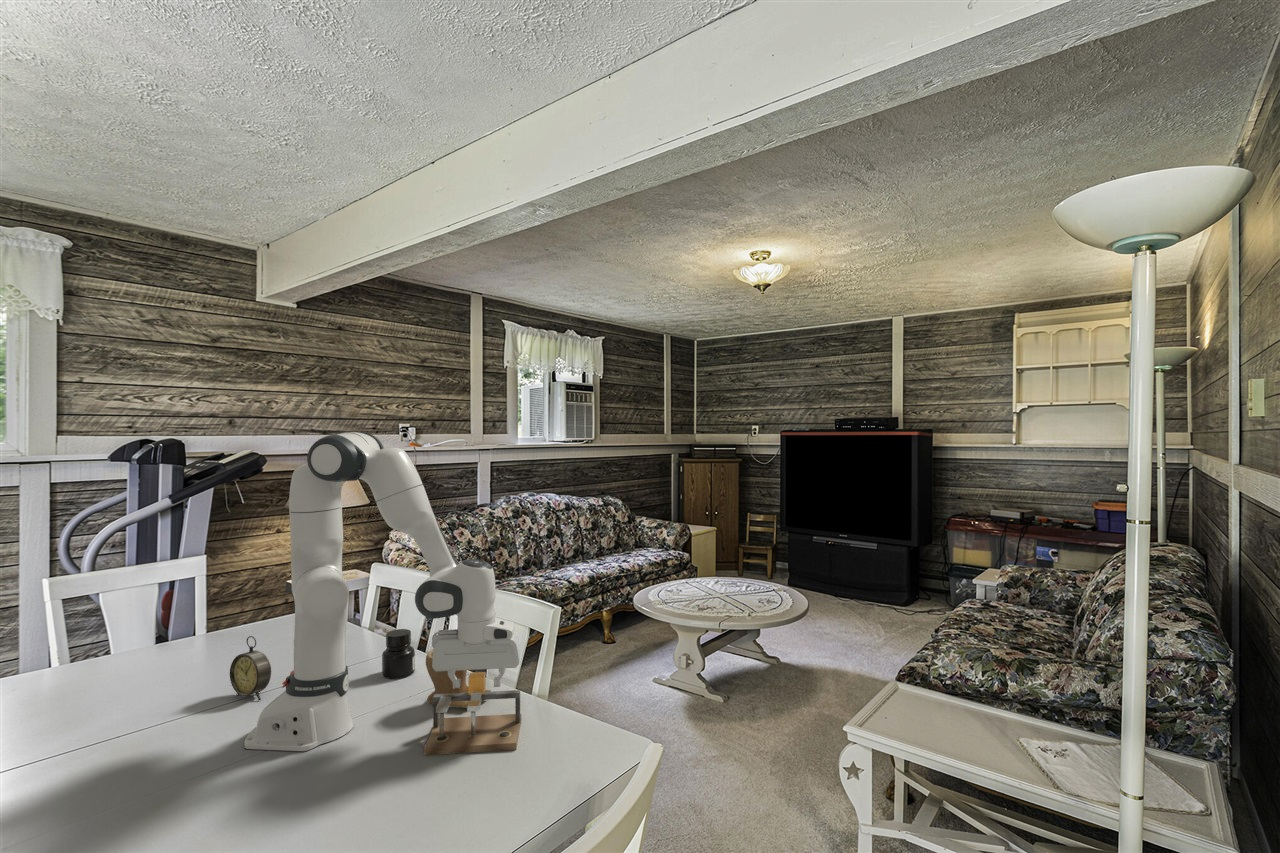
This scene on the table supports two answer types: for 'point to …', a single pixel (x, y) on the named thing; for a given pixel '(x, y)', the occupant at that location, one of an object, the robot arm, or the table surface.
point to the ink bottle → (398, 655)
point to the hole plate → (457, 730)
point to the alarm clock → (250, 672)
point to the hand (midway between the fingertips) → (477, 686)
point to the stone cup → (447, 683)
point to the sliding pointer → (475, 695)
